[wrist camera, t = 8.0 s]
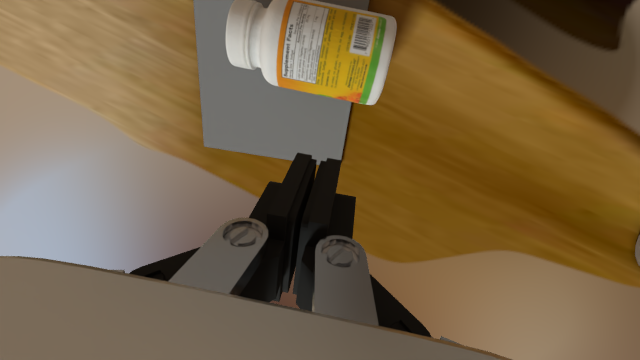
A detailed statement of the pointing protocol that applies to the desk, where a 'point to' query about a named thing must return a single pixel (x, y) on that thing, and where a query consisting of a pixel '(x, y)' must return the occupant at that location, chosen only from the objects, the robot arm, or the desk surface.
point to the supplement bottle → (313, 46)
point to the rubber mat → (261, 99)
